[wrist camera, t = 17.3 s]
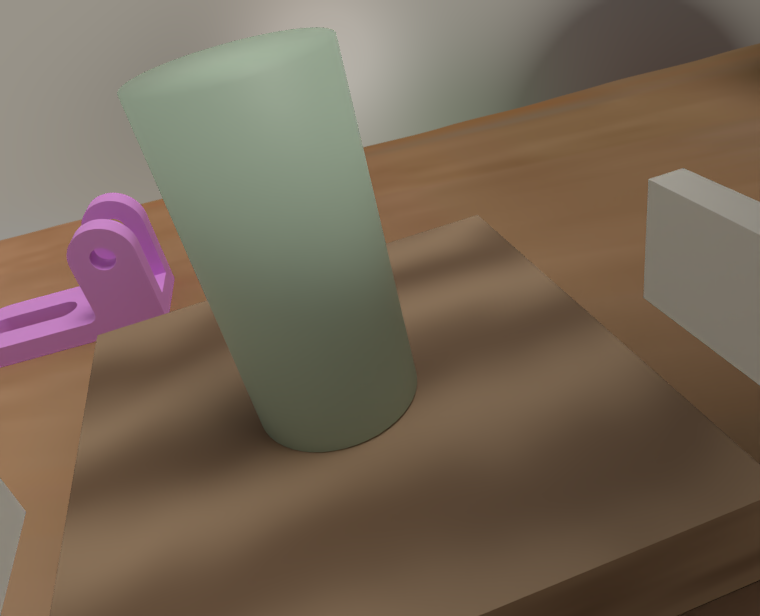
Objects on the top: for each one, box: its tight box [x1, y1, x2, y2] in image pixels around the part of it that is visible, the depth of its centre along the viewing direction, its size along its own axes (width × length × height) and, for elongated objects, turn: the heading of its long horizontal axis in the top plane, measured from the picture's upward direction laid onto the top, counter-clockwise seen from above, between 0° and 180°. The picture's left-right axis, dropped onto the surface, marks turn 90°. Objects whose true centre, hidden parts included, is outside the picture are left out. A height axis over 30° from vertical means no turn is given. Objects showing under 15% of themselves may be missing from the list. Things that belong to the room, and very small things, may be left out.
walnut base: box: [50, 215, 760, 616], centre depth 25 cm, size 20×20×4 cm
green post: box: [117, 27, 417, 452], centre depth 20 cm, size 6×6×12 cm
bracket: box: [0, 193, 174, 367], centre depth 39 cm, size 13×6×7 cm, turn 102°
